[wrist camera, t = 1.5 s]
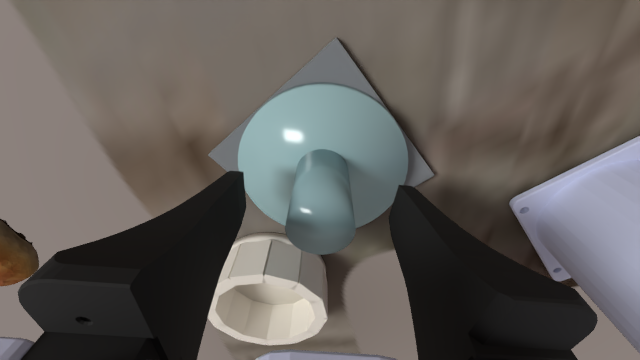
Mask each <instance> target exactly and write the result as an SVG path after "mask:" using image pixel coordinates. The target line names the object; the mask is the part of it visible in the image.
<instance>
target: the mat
mask: <svg viewBox="0 0 640 360" xmlns="http://www.w3.org/2000/svg"><path fill="white" fill-rule="evenodd" d="M315 82H332V83H338V84H344V85H347V86H350V87H354V88H356V89H359V90H361V91H363V92H365V93H367V94H368V95H370V96H372V97H373V98H375V99H376V100H377V101H378V102H380V103H381V104H382V105H383V106H384V107H385V108H386V109H387V107H386V106H385V105H384V103H383V102H382V100H381V99H380V98H379V96H378V95H377V93H376V92H375V91H374V89H373V88H372V86H371V85H370V84H369V82H368V81H367V79H366V78H365V77H364V75H363V74H362V72H361V71H360V70H359V68H358V67H357V65H356V64H355V63H354V61H353V60H352V58H351V57H350V56H349V54H348V53H347V51H346V50H345V49H344V47H343V46H342V44H341V43H340V42H339V40H338V39H337V37H335V38H334V39H333V40H332V41H331V42H330V43H329V44H328V45H327V46H326V47H325V48H323V49H322V50H321V51H320V52H319V53H318V54H317V55H316V56H315V57H314V58H313V59H311V60H310V61H309V62H308V63H307V64H306V65H305V66H304V67H303V68H302V69H301V70H299V71H298V72H297V73H296V74H295V75H294V76H293V77H292V78H291V79H290V80H289V81H287V82H286V83H285V84H284V85H283V86H282V87H281V88H280V89H279V90H278V91H277V92H275V93H274V94H273V95H272V96H271V97H270V98H269V99H268V100H270V99H271V98H272V97H274V96H275V95H277V94H279V93H281V92H282V91H284V90H287V89H289V88H292V87H294V86H298V85H302V84H306V83H315ZM268 100H267V101H268ZM267 101H266V102H267ZM266 102H265V103H266ZM265 103H263V104H262V105H261V106H260V107H259V108H258V109H257V110H256V111H255V112H254V113H253V114H251V115H250V116H249V117H248V118H247V119H246V120H245V121H244V122H243V123H242V124H241V125H239V126H238V127H237V128H236V129H235V130H234V131H233V132H232V133H231V134H230V135H229V136H227V137H226V138H225V139H224V140H223V141H222V142H221V143H220V144H219V145H218V146H217V147H215V148H214V149H213V150H212V151H211V152H210V153H209V155H208V156H210V157H211V158H212V159H213V160H214V161H216V162H217V163H218V164H219V165H220V166H221V167H223V168H224V169H225V170H226V171H227V172H229V171H239V168H238V151H239V145H240V141H241V138H242V135H243V133H244V131H245V129H246V127H247V125H248V124H249V122H250V121H251V119H252V118H253V116H254V115H255V114H256V112H257V111H258V110H259V109H260V108H261V107H262V106H263V105H264V104H265ZM387 110H388V109H387ZM388 112H389V110H388ZM389 113H390V112H389ZM390 114H391V113H390ZM391 115H392V114H391ZM393 118H394V117H393ZM394 120H395V119H394ZM395 121H396V120H395ZM396 123H397V121H396ZM397 125H398V126H399V124H398V123H397ZM399 128H400V130H401V132H402V134H403V137H404V139H405V142H406V146H407V151H408V171H407V175H406V180H405V182H404V185H407V186H413V187H415V186H417V185H419V184H420V183H422V182H424V181H425V180H427V179H429V178H431V177H432V176H434V174H433V172H432V171H431V169H430V168H429V166H428V165H427V164H426V162H425V161H424V159H423V158H422V156H421V155H420V154H419V152H418V151H417V149H416V148H415V147H414V145H413V144H412V142H411V141H410V140H409V138H408V137H407V135H406V134H405V133H404V131H403V130H402V128H401V127H400V126H399Z"/></svg>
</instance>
